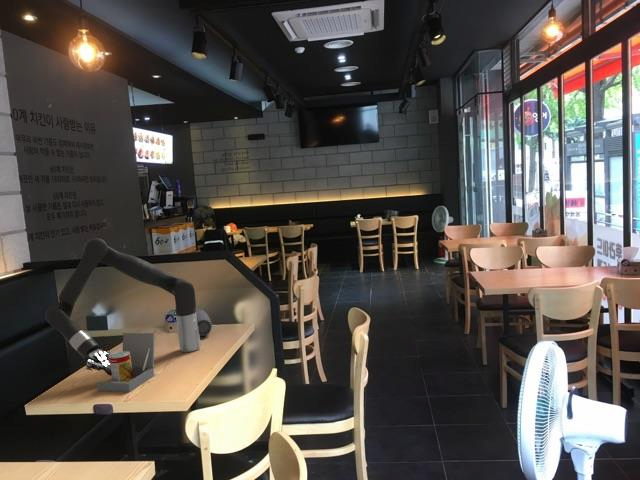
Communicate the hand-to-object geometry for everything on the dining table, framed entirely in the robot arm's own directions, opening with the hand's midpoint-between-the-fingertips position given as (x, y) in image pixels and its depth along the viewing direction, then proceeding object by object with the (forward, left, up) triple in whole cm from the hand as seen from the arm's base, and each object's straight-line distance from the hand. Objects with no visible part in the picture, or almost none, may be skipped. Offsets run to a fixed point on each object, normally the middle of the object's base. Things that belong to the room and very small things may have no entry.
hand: (112, 373), depth 213 cm
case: (-6, +1, -4) cm, 7 cm away
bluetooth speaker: (-30, -58, -4) cm, 66 cm away
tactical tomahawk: (+9, -29, -4) cm, 30 cm away
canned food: (-4, +2, -4) cm, 6 cm away
